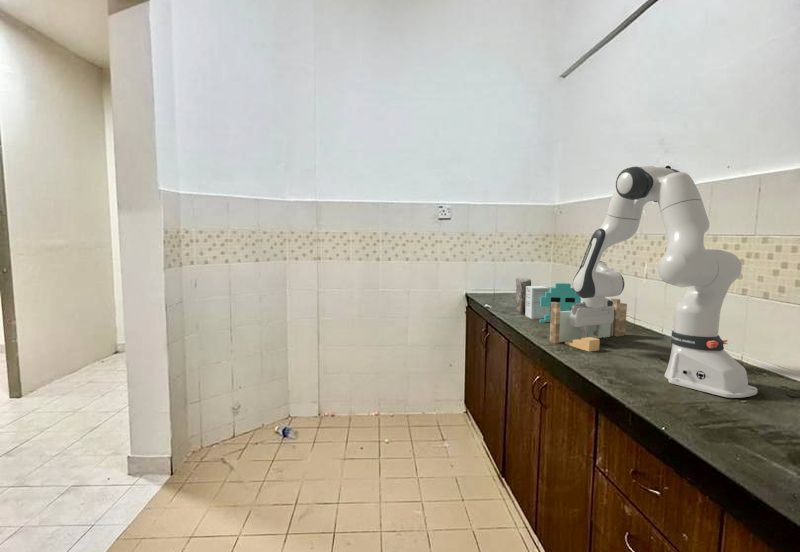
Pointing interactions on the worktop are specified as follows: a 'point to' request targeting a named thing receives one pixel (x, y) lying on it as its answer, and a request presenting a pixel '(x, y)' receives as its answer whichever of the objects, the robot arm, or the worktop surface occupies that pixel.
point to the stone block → (521, 293)
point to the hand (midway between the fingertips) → (590, 336)
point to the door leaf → (574, 333)
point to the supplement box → (535, 302)
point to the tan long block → (585, 343)
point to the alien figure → (559, 298)
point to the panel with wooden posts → (617, 325)
